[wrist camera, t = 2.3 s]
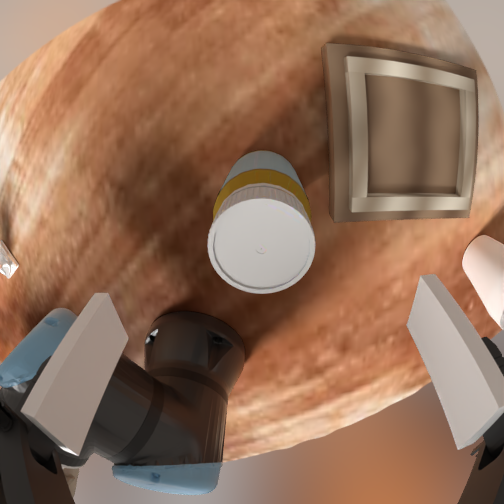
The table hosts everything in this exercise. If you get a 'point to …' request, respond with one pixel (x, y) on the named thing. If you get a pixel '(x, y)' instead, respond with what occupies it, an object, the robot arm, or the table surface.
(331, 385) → the table surface
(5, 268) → the figurine
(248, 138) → the table surface
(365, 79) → the plinth
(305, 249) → the bottle
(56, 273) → the table surface
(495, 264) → the cup
